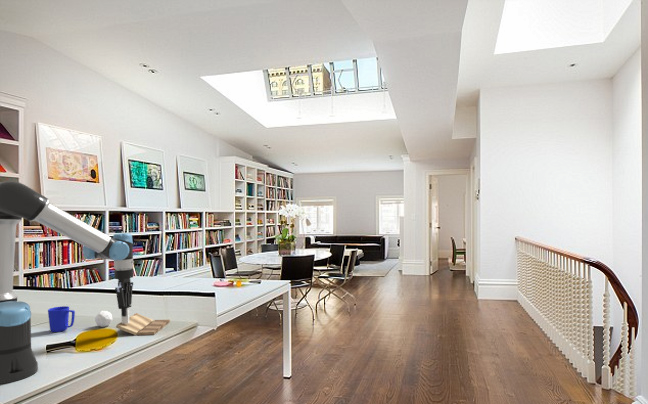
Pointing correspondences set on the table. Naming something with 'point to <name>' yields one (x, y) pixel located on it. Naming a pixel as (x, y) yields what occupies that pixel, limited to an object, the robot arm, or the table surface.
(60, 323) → the mug
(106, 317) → the ornament
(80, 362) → the table surface
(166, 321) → the laid strip
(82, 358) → the table surface
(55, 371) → the table surface
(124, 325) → the plank
